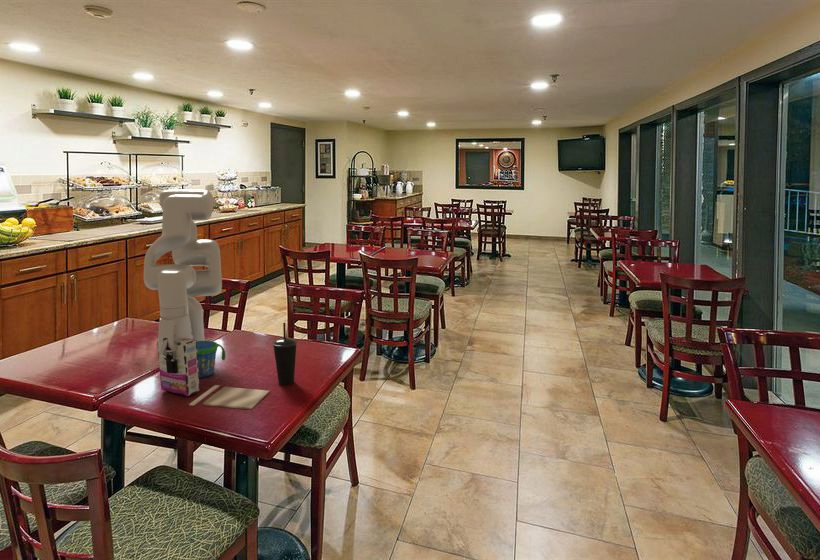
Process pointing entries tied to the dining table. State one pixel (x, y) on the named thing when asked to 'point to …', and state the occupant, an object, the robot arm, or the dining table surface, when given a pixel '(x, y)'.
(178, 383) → the candy bar box
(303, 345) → the dining table surface
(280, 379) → the drinking cup
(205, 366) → the snack cup
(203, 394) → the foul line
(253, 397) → the board
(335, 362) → the dining table surface
